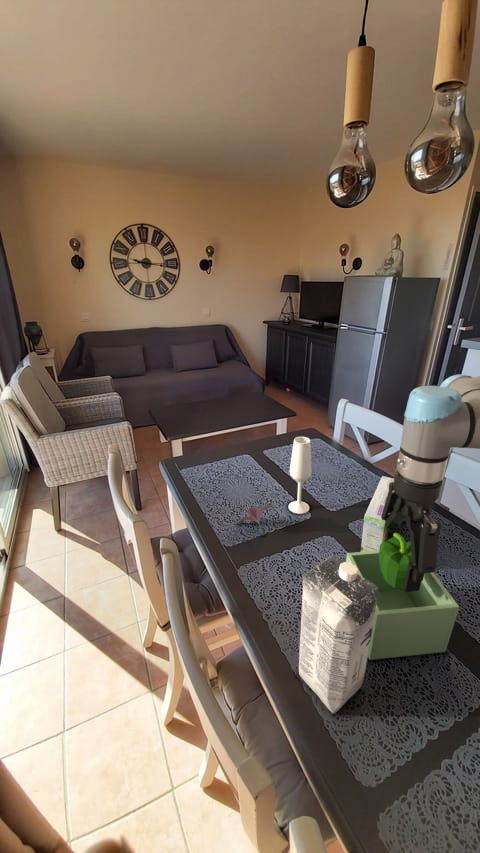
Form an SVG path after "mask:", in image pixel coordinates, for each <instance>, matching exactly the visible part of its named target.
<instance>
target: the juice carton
mask: <svg viewBox="0 0 480 853" xmlns="http://www.w3.org/2000/svg"><path fill="white" fill-rule="evenodd" d="M357 573H358V569H357V567H356V566H355V565H353V564H352V563H350V562H349V563H348V562H346V561H343V560H342V559H341V558H339V557H338V556H337V555H335V554H332V555H330V556H328V557H327V558H326V559H325V560H323V561H322V562H321V563H319V564H318V565H316V566H315V567H313V568H311V569H310V570H308V571H306V572H304V573H302V601H301V613H300V614H301V615H300V633H299V634H300V636H299V649H298V650H299V652H298V675H299V676H300V678H301V679H302V680H303V681H304V682H305V684H306V685H307V686H308V687H309V688H310V689H311V690H312V691H313V692H314V693H315V694H316V696H317V697H318V699H320V701H321V702H322V703H323V704H324V706H325V707H326V708H327V709H328V710H329V711H330V713H331V714H332V715H333V714H336V713H337V712H338V711H340V709H341V708H342V707H343V706H344V705H345V704H346V703H347V702H348V700H349V699H351V698H352V697H353V696H354V695H355V694H356V693H357V692H358V691H359V690H360V689H361V688H362V686H363V685H364V684H363V683H364V680H365V675H366V674H365V673H366V667H367V662H368V651H369V646H370V640H371V634H372V628H373V622H374V616H375V609H376V601H377V596H378V587H377V586H376V585H375V584H373V583H372V582H370V581H368V580H367V579H365V578H363V577H362V576H360V575H358V574H357Z"/></svg>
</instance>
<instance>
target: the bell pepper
mask: <svg viewBox="0 0 480 853" xmlns="http://www.w3.org/2000/svg"><path fill="white" fill-rule="evenodd" d="M393 536H394V537H393V538H391V539H389V540H386V541H383V542H382V543H381V544H380V550H379V563H380V569H381V573H382V574H383V576H384V579H385V580H386V582H387V583H388V584H389V585H390V586H392V587H393V588H396V589H401V590H403V588H404V583H405V578H406V573H407V569H408V564H409V563H410V562H412V555H411V541H405V539H404V537H403V536H402V535H401V533H400V534H398V533H394V534H393Z"/></svg>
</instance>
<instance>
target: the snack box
mask: <svg viewBox="0 0 480 853" xmlns="http://www.w3.org/2000/svg"><path fill="white" fill-rule="evenodd" d="M390 482H394V478H393V477H389V476H384V475H382V476H381V478H380V480H379V482H378V485H377V487H376V489H375V491H374V494H373V496H372V498H371V500H370V503H369V505H368V507H367V509H366V510H365V514H364V516H363V517H364V518H363V526H362V537H361V545H360V552H366V551H378V550H380V544H381V543H382V542H383V541H384V540H385V532H386V527H385V520H382V518H381V515H382V512H383V508H384V505H385V502H386V499H387V496H388V492H389V483H390ZM388 514H391V513H388Z"/></svg>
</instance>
